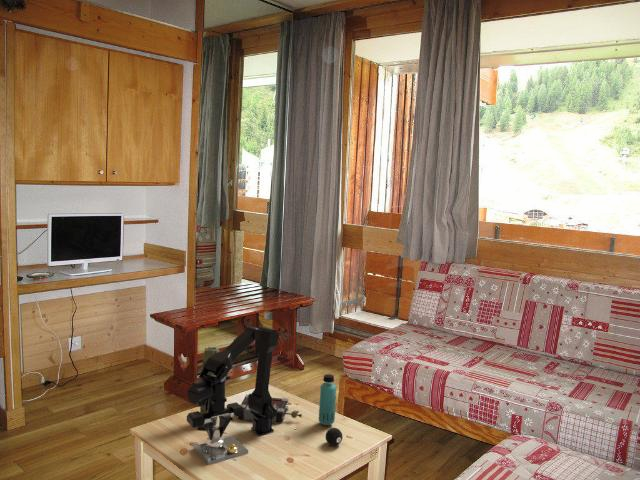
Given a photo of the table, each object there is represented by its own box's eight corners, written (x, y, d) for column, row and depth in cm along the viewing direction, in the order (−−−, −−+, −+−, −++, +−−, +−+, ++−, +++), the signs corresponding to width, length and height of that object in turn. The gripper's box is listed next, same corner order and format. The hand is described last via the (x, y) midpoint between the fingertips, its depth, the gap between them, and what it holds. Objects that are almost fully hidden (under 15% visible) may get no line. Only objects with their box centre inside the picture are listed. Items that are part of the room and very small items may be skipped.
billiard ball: (331, 450, 193) (332, 434, 193) (322, 443, 198) (322, 427, 198) (345, 446, 197) (346, 430, 196) (335, 439, 202) (336, 423, 201)
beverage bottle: (320, 429, 209) (323, 379, 206) (316, 421, 215) (318, 372, 213) (336, 427, 211) (339, 378, 208) (331, 420, 217) (334, 371, 215)
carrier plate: (232, 438, 198) (232, 429, 198) (248, 453, 188) (248, 443, 188) (193, 448, 189) (193, 439, 189) (207, 464, 180) (208, 454, 179)
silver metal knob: (219, 437, 190) (219, 422, 189) (227, 445, 185) (227, 429, 184) (203, 442, 186) (203, 426, 185) (210, 449, 181) (211, 434, 181)
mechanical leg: (211, 432, 200) (217, 349, 203) (192, 431, 200) (198, 348, 203) (218, 424, 213) (224, 347, 217) (200, 423, 213) (206, 346, 217)
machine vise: (245, 405, 228) (246, 393, 227) (305, 410, 225) (305, 398, 225) (236, 420, 213) (237, 408, 213) (300, 426, 211) (300, 414, 210)
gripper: (230, 381, 195) (229, 422, 197) (180, 391, 184) (179, 434, 186) (245, 392, 186) (244, 435, 188) (193, 403, 175) (192, 449, 177)
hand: (215, 438), depth 185 cm, fingers closed on silver metal knob, 3 cm apart
